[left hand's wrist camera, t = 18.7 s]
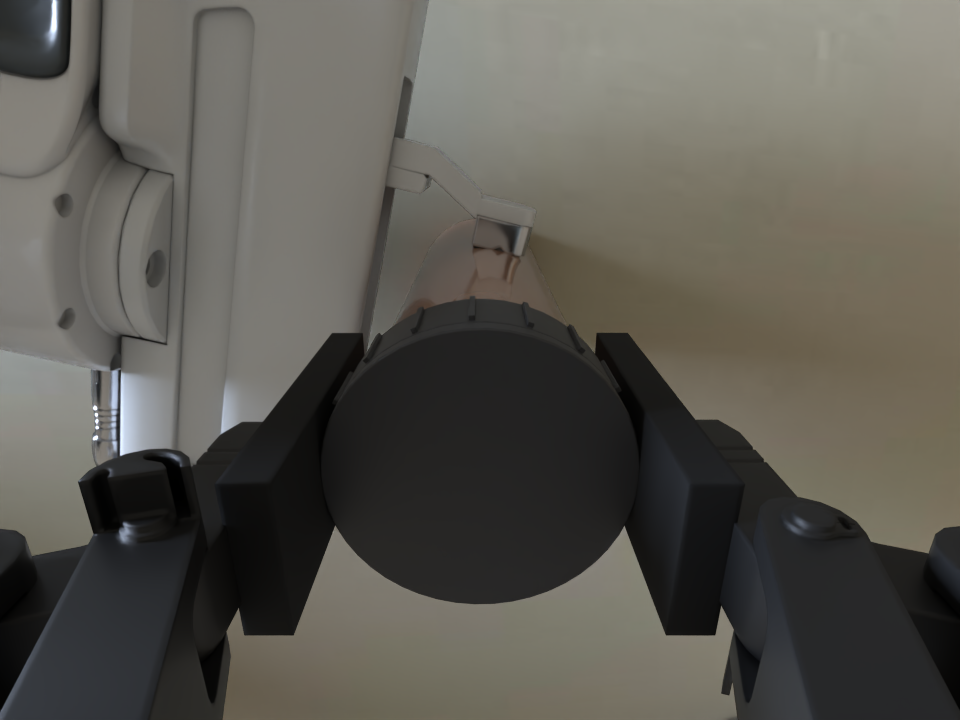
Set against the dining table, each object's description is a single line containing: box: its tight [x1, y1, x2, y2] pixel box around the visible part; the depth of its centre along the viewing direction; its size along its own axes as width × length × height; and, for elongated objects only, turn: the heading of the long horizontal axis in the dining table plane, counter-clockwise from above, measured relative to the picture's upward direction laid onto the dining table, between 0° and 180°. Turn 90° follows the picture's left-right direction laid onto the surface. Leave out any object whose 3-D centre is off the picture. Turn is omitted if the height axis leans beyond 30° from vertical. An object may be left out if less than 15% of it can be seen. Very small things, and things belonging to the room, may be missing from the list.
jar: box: [392, 219, 568, 327], centre depth 18 cm, size 5×5×16 cm
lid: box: [320, 296, 640, 604], centre depth 11 cm, size 6×6×2 cm
